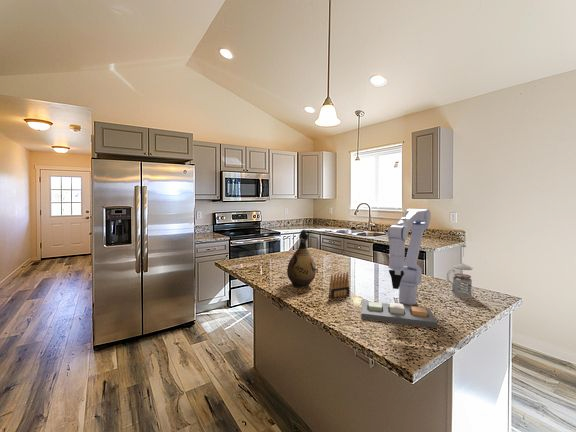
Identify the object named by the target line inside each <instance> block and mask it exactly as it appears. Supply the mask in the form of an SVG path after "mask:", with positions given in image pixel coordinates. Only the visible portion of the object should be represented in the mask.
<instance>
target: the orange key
mask: <svg viewBox="0 0 576 432" xmlns="http://www.w3.org/2000/svg"><path fill="white" fill-rule="evenodd" d="M410 306H411V315H414V316H423V317H427V311H426V309H425V308H426V307H425V308H423V307H424V306H423V307H422V306H416V307H414V306H413V305H410Z"/></svg>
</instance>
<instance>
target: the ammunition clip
mask: <svg viewBox="0 0 576 432" xmlns="http://www.w3.org/2000/svg"><path fill="white" fill-rule="evenodd" d="M349 279H350V278H349V273H348V272H346V273H345V272H343V273H342V272H340V274H339V273H337V275H336V273H334V275H333V274H332V273H331V274H330V280H329V281H330V282H329V289H328V299H334V298H335V299H336V298H340V297H346V296H350V286H349V284H350V281H349Z"/></svg>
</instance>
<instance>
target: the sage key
mask: <svg viewBox="0 0 576 432" xmlns="http://www.w3.org/2000/svg"><path fill="white" fill-rule="evenodd" d="M382 303H383V302H378V303H377V302H376V301H369V310H371V311H379V312H382Z"/></svg>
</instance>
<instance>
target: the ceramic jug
mask: <svg viewBox="0 0 576 432" xmlns="http://www.w3.org/2000/svg"><path fill="white" fill-rule="evenodd" d="M308 238H309V235H308V234H307V230H306V229H302V230H301V231H300V233H299V234H298V239H299V241H300V242H299V245H298V247H297V249H296V250H295V252H294V253H293V254H292V256H291V257H290V259H289V261H288V265H287V267H286V268H287V269H286V270H287V271H286V274H287V278H288V279H289V281H290V283H291V287H292V286H293V287H292V288H296V289H306V288H308V287H309V286H310V284H311V282H313V281H314V279H316V278H315V277H316V274H317V270H316V264H315V261H314V258H313V256H312V255H311V253H310V252H309V250H308V247H307V245H306V242H308Z"/></svg>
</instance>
